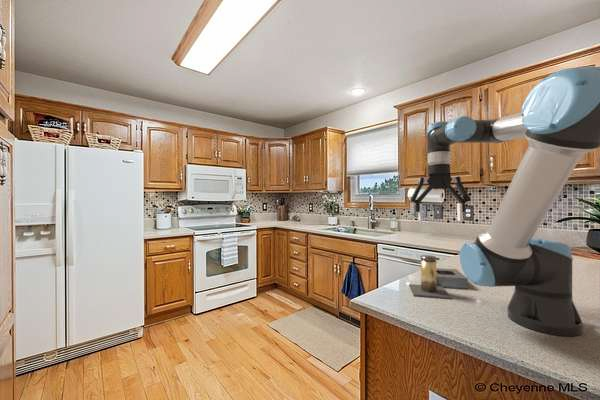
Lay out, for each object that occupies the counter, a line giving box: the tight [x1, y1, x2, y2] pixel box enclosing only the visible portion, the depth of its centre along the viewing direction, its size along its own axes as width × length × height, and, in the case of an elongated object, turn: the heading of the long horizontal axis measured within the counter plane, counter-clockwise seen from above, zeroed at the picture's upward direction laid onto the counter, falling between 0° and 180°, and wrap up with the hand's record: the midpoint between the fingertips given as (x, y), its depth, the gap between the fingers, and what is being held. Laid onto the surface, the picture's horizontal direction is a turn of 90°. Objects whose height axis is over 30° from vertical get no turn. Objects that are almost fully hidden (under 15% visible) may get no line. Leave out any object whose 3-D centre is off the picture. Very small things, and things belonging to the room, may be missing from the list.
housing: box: [436, 267, 469, 290], centre depth 108 cm, size 14×12×4 cm
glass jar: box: [420, 254, 437, 293], centre depth 97 cm, size 5×5×12 cm
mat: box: [408, 283, 452, 300], centre depth 97 cm, size 12×12×1 cm
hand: (439, 220), depth 98 cm, fingers open, 13 cm apart
